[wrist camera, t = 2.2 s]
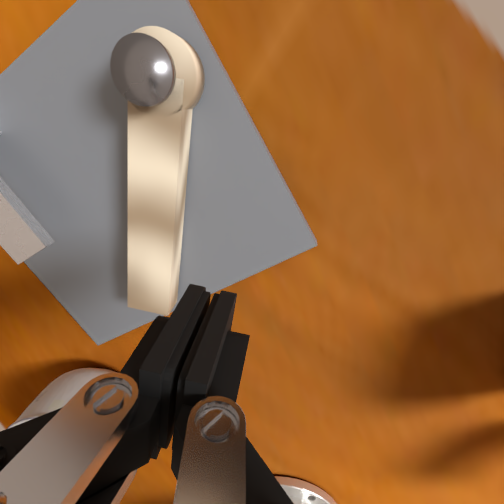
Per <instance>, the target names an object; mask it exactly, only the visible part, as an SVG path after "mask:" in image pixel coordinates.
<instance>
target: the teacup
mask: <svg viewBox="0 0 504 504" xmlns="http://www.w3.org/2000/svg"><path fill="white" fill-rule="evenodd" d="M107 373H117V372H114V371H112V370H108V369H101V368H81V369H75V370H72V371H69V372H66V373H64V374H62V375H61V376H59V377H58V378H56V379H55V380H54V381H52V382H51V383H50V384H49V385H48V386H47V387H46V388H45V389H44V390H43V391H42V392H41V393H40V394H39V395H38V396H37V397H36V398H35V399H34V401H33V402H32V403H31V404H30V405H29V406H28V407H27V408H26V410H25V411H24V412H23V413H22V414H21V415H20V417H19V418H18V419H17V420H16V421H15V422H14V423H13V424H11V425H10V426H9V427H8V428H7V429H9V428H11V427H14V426H16V425H19V424H21V423H24V422H26V421H29V420H31V419H34V418H37V417H39V416H42V415H44V414H47V413H49V412H52V411H54V410H57V409H59V408H62V407H64V406H65V405H66V404H67V402H68V401H69V400H70V399H71V398H72V397H73V396H74V395H75V394H76V393H77V392H78V391H79V390H80V389H81V388H82V387H83V386H84V385H85V384H86V383H88V382H89V381H90V380H91V379H93V378H95V377H97V376H99V375H103V374H107Z"/></svg>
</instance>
